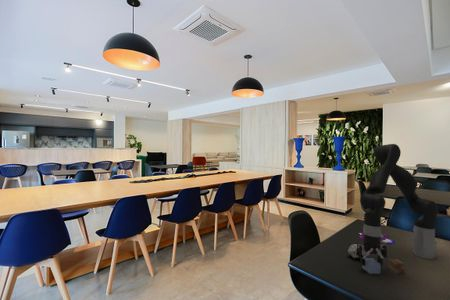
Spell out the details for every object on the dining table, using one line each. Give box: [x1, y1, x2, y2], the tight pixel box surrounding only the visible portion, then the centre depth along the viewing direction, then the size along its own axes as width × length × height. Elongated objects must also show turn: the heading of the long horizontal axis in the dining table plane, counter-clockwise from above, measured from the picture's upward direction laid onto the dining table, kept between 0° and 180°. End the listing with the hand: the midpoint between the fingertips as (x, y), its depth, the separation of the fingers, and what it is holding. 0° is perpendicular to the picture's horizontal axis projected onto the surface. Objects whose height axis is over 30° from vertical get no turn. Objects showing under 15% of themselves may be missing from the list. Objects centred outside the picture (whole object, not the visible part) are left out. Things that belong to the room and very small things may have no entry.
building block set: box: [358, 232, 396, 245], centre depth 154 cm, size 25×20×4 cm
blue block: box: [361, 257, 382, 275], centre depth 111 cm, size 6×6×5 cm
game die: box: [345, 242, 360, 260], centre depth 124 cm, size 9×8×10 cm
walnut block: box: [387, 258, 405, 274], centre depth 111 cm, size 4×4×5 cm
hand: (371, 265), depth 111 cm, fingers open, 8 cm apart
